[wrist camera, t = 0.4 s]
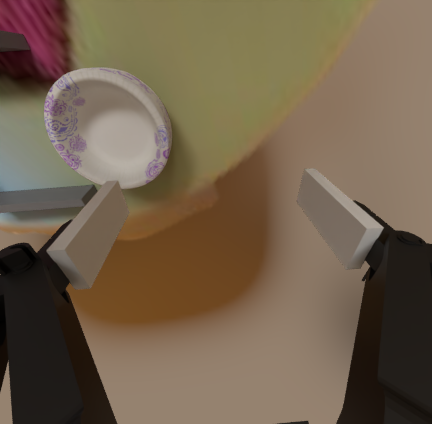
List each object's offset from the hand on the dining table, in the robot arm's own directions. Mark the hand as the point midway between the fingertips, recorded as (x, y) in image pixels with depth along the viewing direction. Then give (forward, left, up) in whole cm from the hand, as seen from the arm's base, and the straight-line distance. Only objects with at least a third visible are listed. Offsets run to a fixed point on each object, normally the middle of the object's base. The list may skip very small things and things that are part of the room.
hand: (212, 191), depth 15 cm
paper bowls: (0, -13, -23) cm, 26 cm away
